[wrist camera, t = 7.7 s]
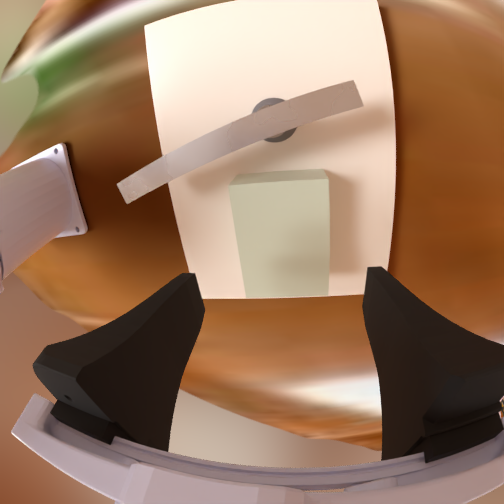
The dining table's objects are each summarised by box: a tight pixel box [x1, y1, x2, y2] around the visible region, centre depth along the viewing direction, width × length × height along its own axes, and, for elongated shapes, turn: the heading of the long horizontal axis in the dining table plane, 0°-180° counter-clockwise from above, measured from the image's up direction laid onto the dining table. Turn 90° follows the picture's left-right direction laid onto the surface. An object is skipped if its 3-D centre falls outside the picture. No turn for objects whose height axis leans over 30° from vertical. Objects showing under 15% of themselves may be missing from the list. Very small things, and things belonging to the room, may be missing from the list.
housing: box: [145, 0, 396, 299], centre depth 15 cm, size 14×20×1 cm
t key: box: [117, 80, 364, 204], centre depth 13 cm, size 2×12×4 cm, turn 114°
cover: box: [228, 169, 330, 298], centre depth 16 cm, size 5×7×2 cm
